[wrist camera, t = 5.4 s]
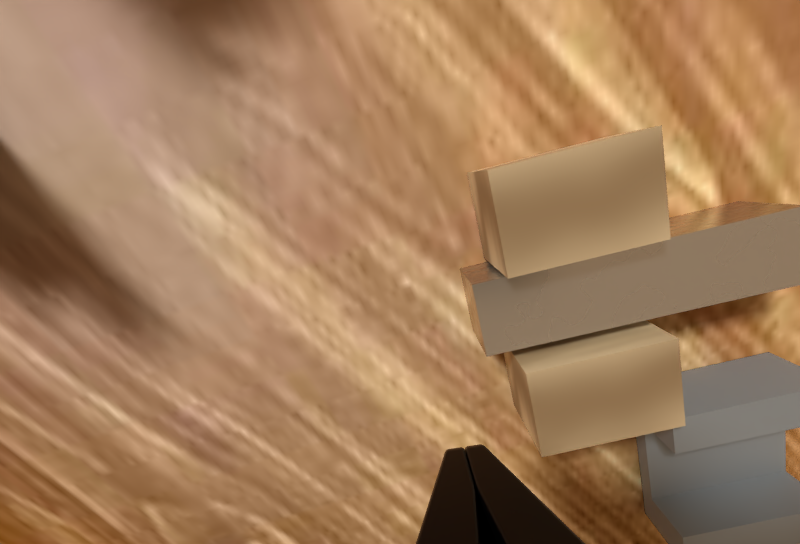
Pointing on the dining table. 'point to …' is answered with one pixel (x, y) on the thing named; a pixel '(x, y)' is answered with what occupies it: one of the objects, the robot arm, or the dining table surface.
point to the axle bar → (640, 278)
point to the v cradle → (727, 457)
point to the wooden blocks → (572, 242)
